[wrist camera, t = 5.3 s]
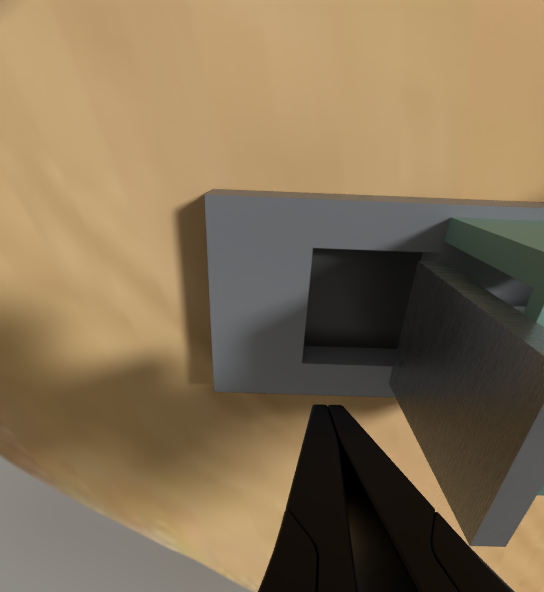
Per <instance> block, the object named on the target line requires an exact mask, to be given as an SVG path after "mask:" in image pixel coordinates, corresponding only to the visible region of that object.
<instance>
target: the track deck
mask: <svg viewBox="0 0 544 592" xmlns="http://www.w3.org/2000/svg"><path fill="white" fill-rule="evenodd" d="M204 197H205V217H206V238H207V258H208V278H209V299H210V319H211V340H212V360H213V380H214V392H240V393H272V394H304V395H336V396H368V397H395V395H394V393H393V391H392V389H391V387H390V385H389V380H390V376H391V372H392V367H393V363H394V359H395V355H396V351H397V347H398V343H399V339H400V335H401V330H402V326H403V322H404V318H405V314H406V310H407V306H408V302H409V298H410V293H411V289H412V285H413V281H414V277H415V273H416V269H417V265H418V261H429V262H444V263H446V264H448V265H449V266H451V267H452V268H454V269H455V270H457V271H458V272H460V273H461V274H463V275H465V276H466V277H468V278H469V279H471V280H472V281H474V282H475V283H477V284H478V285H480V286H481V287H483V288H485V289H486V290H488V291H489V292H491V293H492V294H494V295H495V296H497V297H498V298H500V299H501V300H503V301H505V302H506V303H508V304H509V305H511V306H524V307H526V306H527V303H528V301H529V298H530V296H531V294H532V291H533V289H534V288H532V287H530V286H528V285H526V284H524V283H523V282H521V281H519V280H517V279H515V278H513V277H511V276H509V275H507V274H505V273H504V272H502V271H500V270H498V269H496V268H494V267H492V266H490V265H488V264H486V263H485V262H483V261H481V260H479V259H477V258H475V257H473V256H471V255H469V254H467V253H466V252H464V251H462V250H460V249H458V248H456V247H454V246H452V245H450V244H448V243H447V242H445V237H446V234H447V230H448V226H449V223H450V219H451V217H456V218H481V219H507V220H532V221H544V202H520V201H495V200H470V199H446V198H421V197H396V196H372V195H347V194H322V193H298V192H273V191H248V190H223V189H212V190H211V191H209V192H208V193H206V194H205V195H204Z"/></svg>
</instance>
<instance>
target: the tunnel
mask: <svg viewBox="0 0 544 592" xmlns="http://www.w3.org/2000/svg"><path fill="white" fill-rule="evenodd" d="M445 242H447V243H448V244H450V245H452V246H454V247H456V248H458V249H460V250H462V251H464V252H466V253H467V254H469V255H471V256H473V257H475V258H477V259H479V260H481V261H483V262H485V263H486V264H488V265H490V266H492V267H494V268H496V269H498V270H500V271H502V272H504V273H505V274H507V275H509V276H511V277H513V278H515V279H517V280H519V281H521V282H523V283H524V284H526V285H528V286H530V287H532V288H534V289H533V291H532V294H531V296H530V298H529V301H528V303H527V306H526V308H525V310H524V313H523V314H525V315H526V316H528V317H529V318H531V319H532V320H534V321H535V322H537V323H538V324H540V325H542V326H543V327H544V221H532V220H507V219H481V218H456V217H451V219H450V223H449V226H448V230H447V234H446V237H445ZM537 495H544V484H543V486H542V487H541V489H540V491H539V492H538V494H537Z"/></svg>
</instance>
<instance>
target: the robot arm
mask: <svg viewBox="0 0 544 592" xmlns="http://www.w3.org/2000/svg"><path fill="white" fill-rule="evenodd" d="M258 592H514V591H513V590H512V589H511V588H510V587H509V586H508V585H507V584H506V583H505V582H504V581H503V580H502V579H501V578H500V577H499V576H498V575H497V574H496V573H495V572H494V571H493V570H492V569H491V568H490V567H489V566H488V565H487V564H486V563H485V562H484V561H483V560H482V559H481V558H480V557H479V556H478V555H477V554H476V553H475V552H474V551H473V550H472V549H471V548H470V547H469V546H468V545H467V544H466V543H465V541H464V540H463V539H462V538H461V537H460V536H459V535H458V534H457V533H456V532H455V531H454V530H453V529H452V527H451V526H450V525H449V524H448V523H447V522H446V521H445V520H444V519H443V517H442V516H441V515H440V514H439V513H438V512H435V509H434V508H433V506H432V505H431V504H430V503H429V502H428V501H427V500H426V499H425V497H424V496H423V495H422V494H421V493H420V492H419V491H418V490H417V488H416V487H415V486H414V485H413V484H412V483H411V482H410V481H409V480H408V478H407V477H406V476H405V475H404V474H403V473H402V472H401V471H400V469H399V468H398V467H397V466H396V465H395V464H394V463H393V462H392V460H391V459H390V458H389V457H388V456H387V455H386V454H385V453H384V451H383V450H382V449H381V448H380V447H379V446H378V445H377V444H376V443H375V441H374V440H373V439H372V438H371V437H370V436H369V435H368V434H367V432H366V431H365V430H364V429H363V428H362V427H361V426H360V425H359V423H358V422H357V421H356V420H355V419H354V418H353V417H352V416H351V415H350V413H349V412H348V411H347V410H346V409H345V408H344V407H343V406H342V405H329V406H328V407H327V406H326V405H313V406H312V410H311V413H310V417H309V421H308V425H307V429H306V433H305V436H304V440H303V444H302V448H301V452H300V456H299V459H298V463H297V467H296V471H295V475H294V479H293V482H292V486H291V490H290V494H289V498H288V502H287V505H286V511H285V512H284V516H283V520H282V524H281V528H280V531H279V534H278V538H277V541H276V544H275V548H274V551H273V554H272V556H271V559H270V562H269V564H268V567H267V570H266V572H265V575H264V578H263V580H262V583H261V585H260V588H259V590H258Z"/></svg>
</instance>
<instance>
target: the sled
mask: <svg viewBox="0 0 544 592" xmlns="http://www.w3.org/2000/svg"><path fill="white" fill-rule="evenodd" d="M525 308H526V307H524V306H511V305H509V304H508V303H506V302H505V301H503V300H501V299H500V298H498V297H497V296H495V295H494V294H492V293H491V292H489V291H488V290H486V289H485V288H483V287H481V286H480V285H478V284H477V283H475V282H474V281H472V280H471V279H469V278H468V277H466V276H465V275H463V274H461V273H460V272H458V271H457V270H455V269H454V268H452V267H451V266H449V265H448V264H446V263H444V262H429V261H418V265H417V269H416V273H415V277H414V281H413V285H412V289H411V293H410V298H409V302H408V306H407V310H406V314H405V318H404V322H403V326H402V330H401V335H400V339H399V343H398V347H397V351H396V355H395V359H394V363H393V367H392V372H391V376H390V380H389V385H390V387H391V389H392V391H393V393H394V395H395V397H396V399H397V401H398V403H399V405H400V407H401V409H402V411H403V413H404V415H405V417H406V419H407V421H408V423H409V425H410V427H411V429H412V431H413V433H414V435H415V437H416V439H417V441H418V443H419V445H420V447H421V449H422V451H423V453H424V455H425V457H426V459H427V461H428V463H429V465H430V467H431V469H432V471H433V473H434V475H435V477H436V479H437V481H438V483H439V485H440V487H441V489H442V491H443V493H444V495H445V497H446V499H447V501H448V503H449V505H450V507H451V509H452V511H453V513H454V515H455V517H456V519H457V521H458V523H459V525H460V527H461V529H462V531H463V533H464V535H465V537H466V539H467V541H468V543H469V545H470V546H497V547H506V545H507V544H508V542H509V540H510V539H511V537H512V535H513V534H514V532H515V530H516V529H517V527H518V525H519V524H520V522H521V520H522V519H523V517H524V516H525V514H526V512H527V511H528V509H529V507H530V506H531V504H532V502H533V501H534V499H535V497H536V496H537V494H538V492H539V491H540V489H541V487H542V486H543V484H544V327H543V326H542V325H540V324H538V323H537V322H535V321H534V320H532V319H531V318H529V317H528V316H526V315H525V314H523V313H524V310H525Z"/></svg>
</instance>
